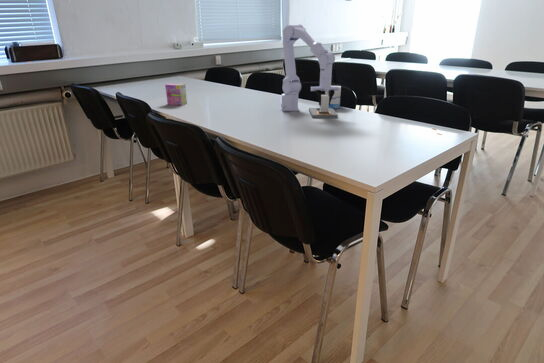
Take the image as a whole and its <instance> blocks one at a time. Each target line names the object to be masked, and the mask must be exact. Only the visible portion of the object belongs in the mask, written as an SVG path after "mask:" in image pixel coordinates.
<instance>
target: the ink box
mask: <svg viewBox="0 0 544 363" xmlns="http://www.w3.org/2000/svg"><path fill="white" fill-rule="evenodd" d="M332 86H333V87H340V91H334V92H335V93H334V95H333V97H332V99H331V102H330V105H329V108H333V109H337V110H338V109H340V106H341V93H342V92H341V91H342V86H341V85H332ZM328 90H329V89H328ZM324 95H328V91H324Z"/></svg>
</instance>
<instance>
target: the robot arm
mask: <svg viewBox="0 0 544 363" xmlns="http://www.w3.org/2000/svg"><path fill="white" fill-rule="evenodd" d="M282 35H283V37H282V47H283V56H284V57H283V58H284V67H285V77H284V78H283V79H282V87H281V88H282V91H283V93H281V103H280V108H281V111H282V112H283V111H285V112H287V111H288V112H293V111H294V112H298V111H299V112H300V109H299V108H300V107H299V94H300V92H301V90H302V83H301V80H300V77H299V76H298V75H297V68H296V60H295V50H294V49H295V48H294V44H295V43H296V42H297V41H299V40H300V39H301V40H302V41H303V43H305V44H306V45H307V46H309V49H310V52H311V54H313V55H314V56H315V57H316V58H317V61H318V64H319V69H320V72H319V85H318V86H310V92H315V93H316V97H317V99H318V106H319V107H320V106H321V95H322V92H325V91H328V95H329V105H330V102H331V99H332V97H333V95H334V93H335V92H334V91H340V87H333V86H334V85H332V74H333V73H332V72H333V64H334V63H335V60H336V59H335V58H336V57H335V54H334V53H333V52H330V51H329V50H328V49H327V48H325V47H324V46H323V44H322V43H321V42H319V41H318V42H317V41H315V40H314V39H313V37H312V36H311V35H310V34H309V33H308V32H307V29H306V28H305V27H304V26H303V24H287V25H285V27H284V28H283V30H282ZM328 89H329V90H328Z"/></svg>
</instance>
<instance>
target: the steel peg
mask: <svg viewBox="0 0 544 363" xmlns="http://www.w3.org/2000/svg"><path fill="white" fill-rule="evenodd" d="M319 108H320V112H328V110H329V95H325V94H321V106H320V105H319Z"/></svg>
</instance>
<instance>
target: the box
mask: <svg viewBox="0 0 544 363" xmlns="http://www.w3.org/2000/svg"><path fill="white" fill-rule="evenodd" d="M164 85H165V86H164V87H165V93H166V95H165V96H166V101H167V105H173V106H184V105H187V104H188V98H187V88H186V83H171V82H170V83H166V84H164Z"/></svg>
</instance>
